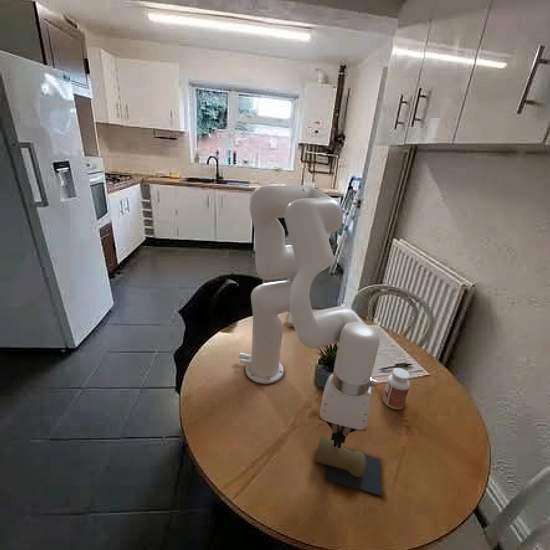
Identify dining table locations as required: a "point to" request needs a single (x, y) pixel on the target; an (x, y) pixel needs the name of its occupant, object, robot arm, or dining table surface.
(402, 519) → the dining table surface
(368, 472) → the mat
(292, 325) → the plastic bottle
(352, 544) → the dining table surface
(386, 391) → the pill bottle
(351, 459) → the olive green waisted cylinder
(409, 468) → the dining table surface
